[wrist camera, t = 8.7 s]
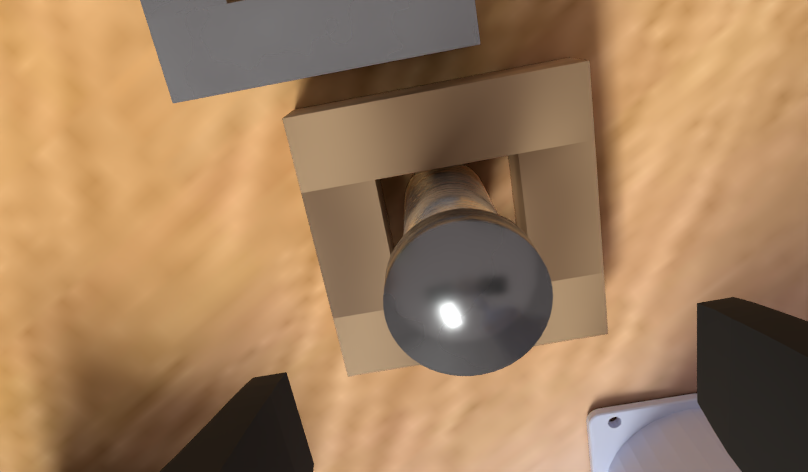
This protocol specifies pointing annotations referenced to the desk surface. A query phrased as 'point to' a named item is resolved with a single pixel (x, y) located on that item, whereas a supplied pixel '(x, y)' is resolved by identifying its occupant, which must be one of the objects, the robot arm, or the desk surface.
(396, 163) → the socket
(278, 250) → the desk surface
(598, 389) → the desk surface
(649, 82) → the desk surface
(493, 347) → the lock pin
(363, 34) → the mount
